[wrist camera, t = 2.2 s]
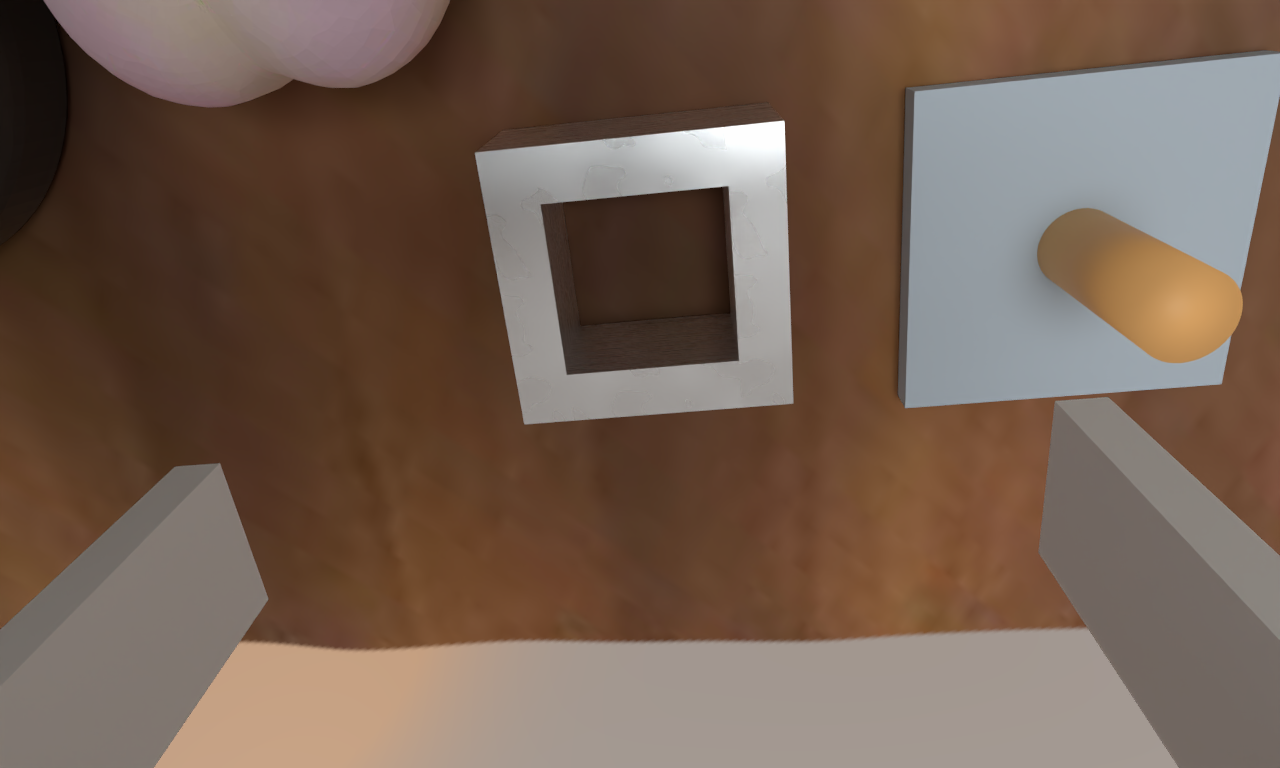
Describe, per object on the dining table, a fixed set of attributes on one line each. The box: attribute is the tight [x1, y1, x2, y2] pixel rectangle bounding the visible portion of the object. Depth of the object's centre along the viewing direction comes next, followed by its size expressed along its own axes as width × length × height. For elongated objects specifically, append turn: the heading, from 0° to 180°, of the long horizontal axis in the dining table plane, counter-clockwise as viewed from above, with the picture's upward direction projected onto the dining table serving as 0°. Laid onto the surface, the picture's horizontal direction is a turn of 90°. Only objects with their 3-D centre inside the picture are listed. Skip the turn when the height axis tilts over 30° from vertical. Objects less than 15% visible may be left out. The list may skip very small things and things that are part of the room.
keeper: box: [898, 50, 1280, 408], centre depth 23 cm, size 10×10×7 cm
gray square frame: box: [475, 102, 793, 424], centre depth 25 cm, size 8×8×4 cm
